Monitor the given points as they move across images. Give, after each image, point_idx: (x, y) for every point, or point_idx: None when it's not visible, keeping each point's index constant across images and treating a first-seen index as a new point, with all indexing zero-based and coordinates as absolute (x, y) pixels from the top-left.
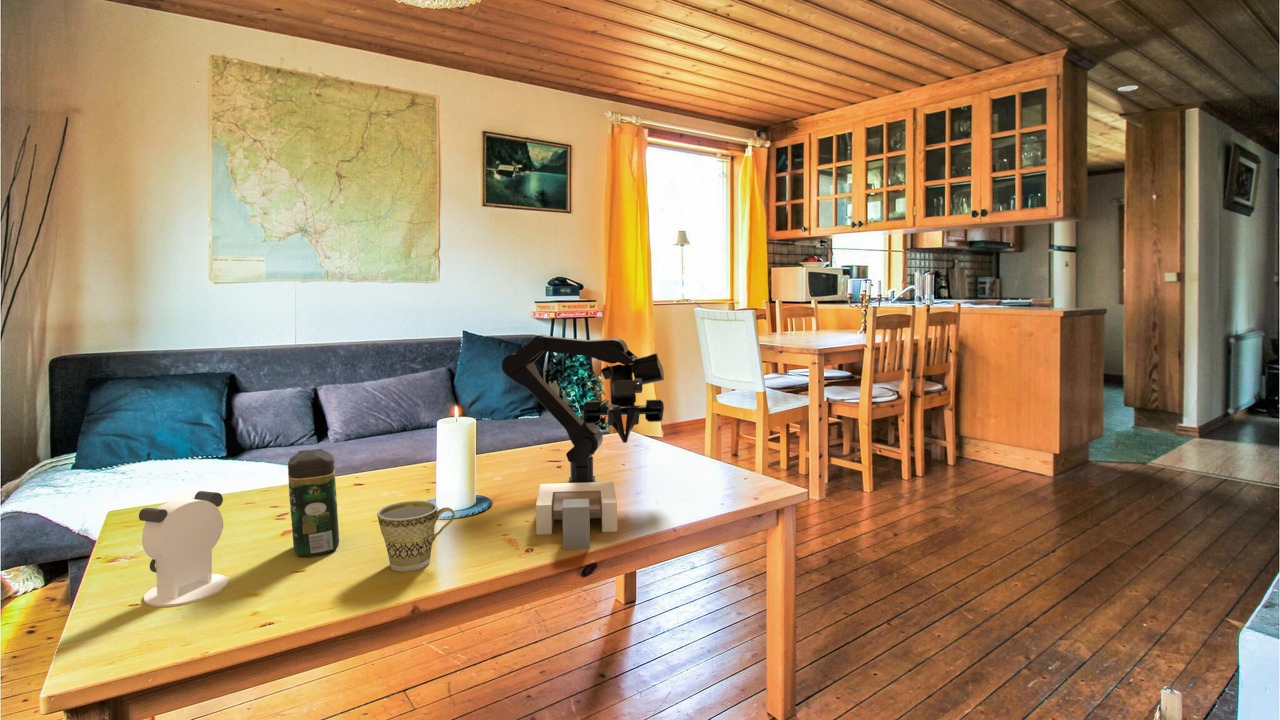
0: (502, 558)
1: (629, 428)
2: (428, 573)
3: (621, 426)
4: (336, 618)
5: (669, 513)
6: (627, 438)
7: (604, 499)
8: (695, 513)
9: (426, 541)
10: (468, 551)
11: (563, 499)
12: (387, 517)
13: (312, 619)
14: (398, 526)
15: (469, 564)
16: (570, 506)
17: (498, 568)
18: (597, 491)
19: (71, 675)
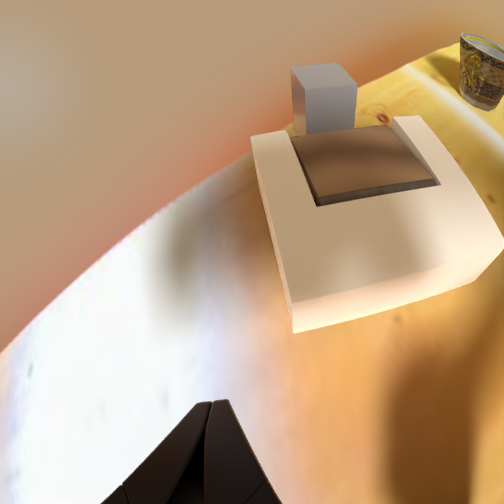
0: (400, 102)
1: (136, 471)
2: (444, 84)
3: (228, 489)
4: (438, 50)
5: (139, 303)
6: (189, 413)
7: (285, 146)
8: (86, 306)
9: (462, 67)
10: (453, 117)
11: (356, 84)
12: None
13: (450, 51)
14: (471, 40)
15: (424, 93)
16: (325, 65)
17: (386, 86)
18: (323, 197)
19: None
